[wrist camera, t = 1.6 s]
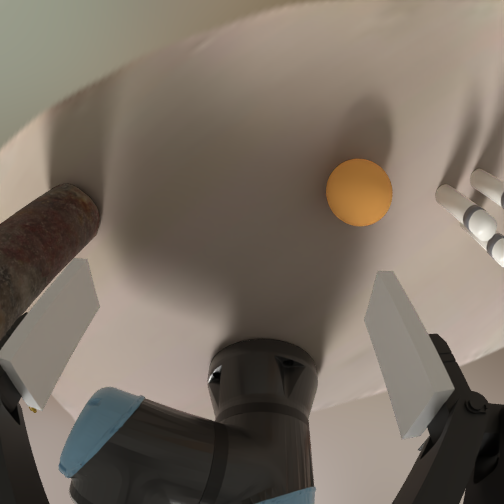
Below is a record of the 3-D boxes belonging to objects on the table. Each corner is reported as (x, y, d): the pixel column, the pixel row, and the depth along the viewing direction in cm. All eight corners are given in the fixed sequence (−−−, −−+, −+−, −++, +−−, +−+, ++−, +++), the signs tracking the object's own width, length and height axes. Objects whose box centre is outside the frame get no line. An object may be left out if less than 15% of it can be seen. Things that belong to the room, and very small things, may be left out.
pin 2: (475, 226, 31) (515, 263, 24) (459, 231, 32) (497, 270, 24) (475, 207, 30) (518, 242, 23) (459, 212, 31) (500, 248, 23)
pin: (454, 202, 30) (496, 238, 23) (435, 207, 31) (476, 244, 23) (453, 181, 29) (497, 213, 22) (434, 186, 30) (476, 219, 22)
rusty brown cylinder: (40, 212, 32) (-73, 314, 15) (64, 166, 30) (-74, 259, 12) (85, 252, 35) (-10, 377, 17) (114, 209, 32) (0, 338, 15)
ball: (383, 203, 31) (405, 228, 26) (328, 217, 32) (340, 245, 27) (374, 146, 28) (397, 161, 23) (314, 160, 29) (325, 178, 24)
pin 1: (486, 187, 29) (531, 218, 22) (470, 191, 29) (514, 223, 22) (485, 166, 28) (533, 193, 20) (469, 170, 28) (516, 198, 21)
